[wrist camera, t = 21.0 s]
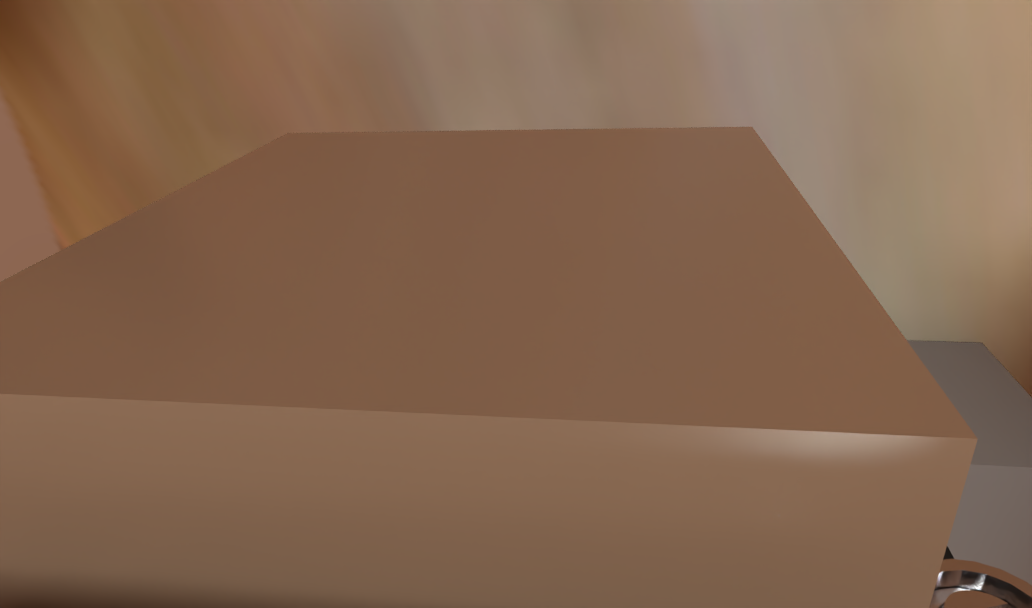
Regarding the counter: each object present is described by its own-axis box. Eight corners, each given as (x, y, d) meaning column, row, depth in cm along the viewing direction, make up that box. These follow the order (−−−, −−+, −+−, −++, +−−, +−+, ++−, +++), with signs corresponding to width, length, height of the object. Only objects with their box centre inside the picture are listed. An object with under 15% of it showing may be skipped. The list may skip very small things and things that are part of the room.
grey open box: (782, 336, 30) (830, 456, 22) (981, 342, 28) (1099, 471, 21) (763, 482, 33) (799, 627, 26) (940, 492, 32) (1030, 647, 25)
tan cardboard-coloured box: (288, 133, 12) (-199, 384, 5) (752, 127, 11) (978, 437, 4) (352, 486, 15) (113, 942, 8) (714, 509, 14) (799, 1058, 7)
